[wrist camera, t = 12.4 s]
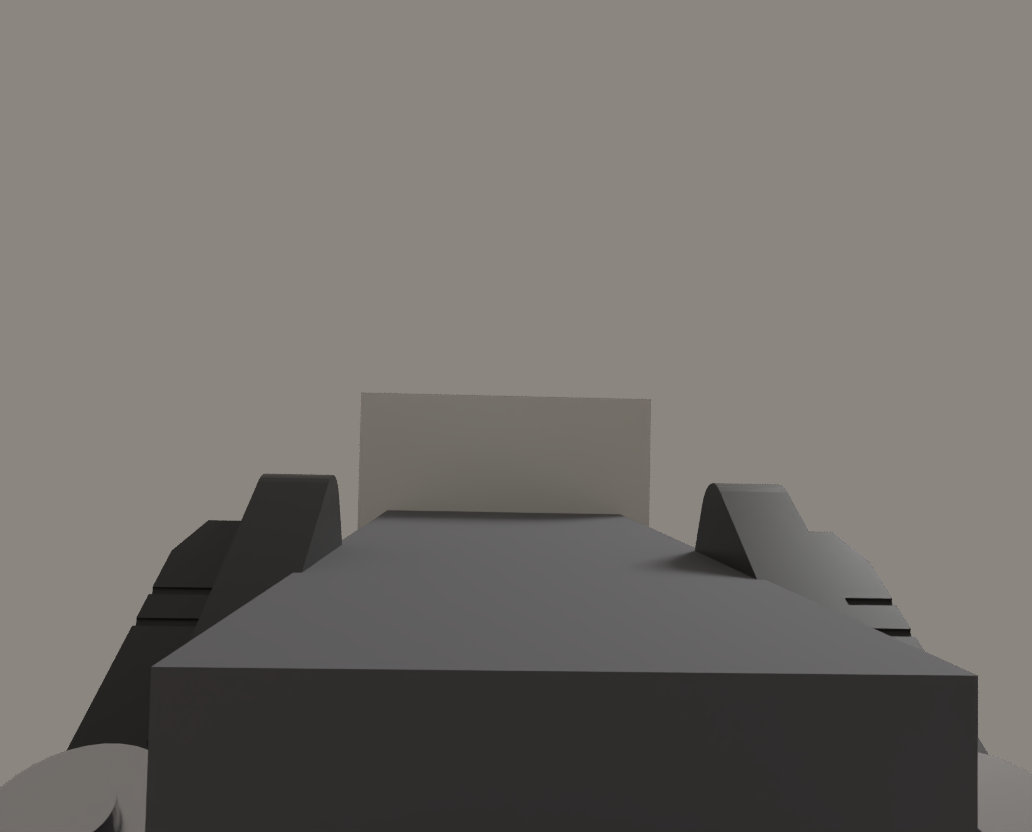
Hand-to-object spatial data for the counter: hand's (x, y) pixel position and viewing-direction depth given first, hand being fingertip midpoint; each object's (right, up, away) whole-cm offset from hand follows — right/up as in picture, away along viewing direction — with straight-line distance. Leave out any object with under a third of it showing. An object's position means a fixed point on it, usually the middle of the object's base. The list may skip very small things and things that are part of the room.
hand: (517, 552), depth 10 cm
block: (0, -3, +5) cm, 6 cm away
